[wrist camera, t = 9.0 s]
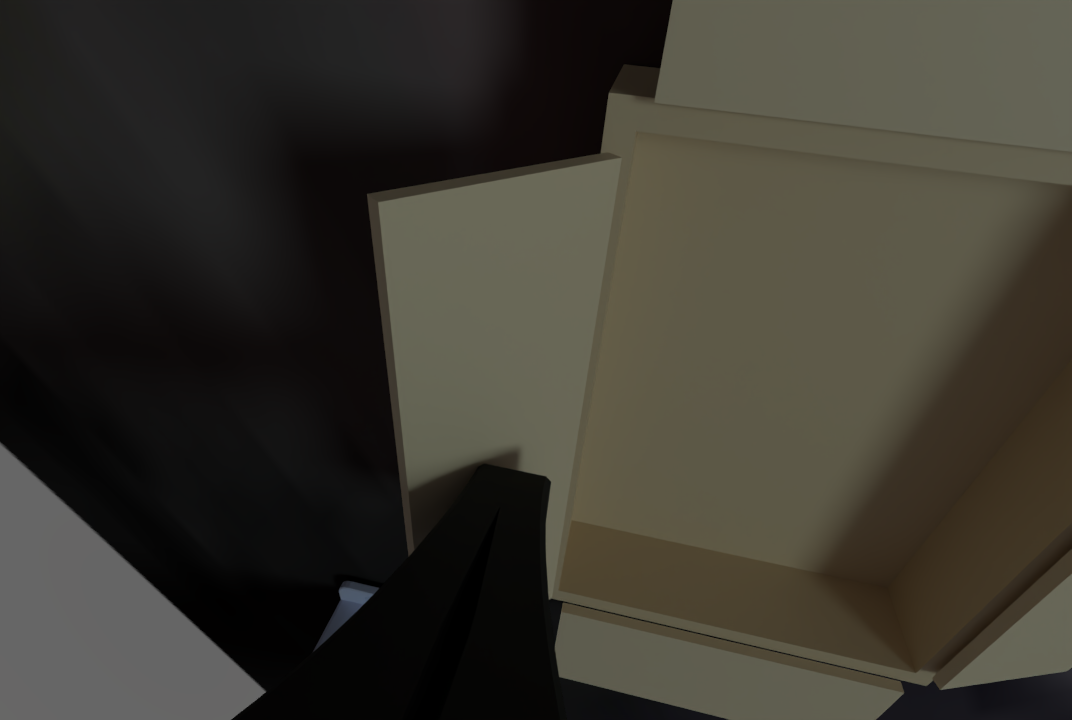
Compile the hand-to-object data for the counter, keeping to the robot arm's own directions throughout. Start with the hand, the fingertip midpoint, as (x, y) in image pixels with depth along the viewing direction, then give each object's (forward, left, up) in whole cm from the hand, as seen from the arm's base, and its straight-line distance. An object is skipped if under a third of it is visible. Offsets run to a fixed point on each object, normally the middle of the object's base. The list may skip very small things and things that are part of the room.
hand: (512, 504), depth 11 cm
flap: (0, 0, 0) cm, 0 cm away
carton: (+6, 0, -5) cm, 8 cm away
